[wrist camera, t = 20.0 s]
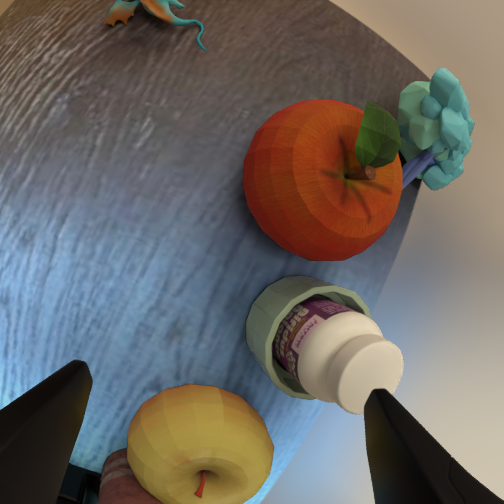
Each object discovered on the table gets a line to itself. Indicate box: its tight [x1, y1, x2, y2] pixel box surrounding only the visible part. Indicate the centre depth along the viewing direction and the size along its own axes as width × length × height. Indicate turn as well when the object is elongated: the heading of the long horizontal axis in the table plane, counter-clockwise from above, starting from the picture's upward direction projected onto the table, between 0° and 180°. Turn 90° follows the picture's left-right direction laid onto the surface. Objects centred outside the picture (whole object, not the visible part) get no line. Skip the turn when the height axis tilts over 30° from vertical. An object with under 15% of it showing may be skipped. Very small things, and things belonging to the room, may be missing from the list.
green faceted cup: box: [246, 275, 372, 400], centre depth 21 cm, size 7×7×5 cm
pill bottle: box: [272, 294, 403, 414], centre depth 18 cm, size 5×5×10 cm
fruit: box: [243, 100, 403, 261], centre depth 17 cm, size 10×10×10 cm
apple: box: [127, 384, 274, 504], centre depth 18 cm, size 10×10×8 cm
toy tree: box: [396, 68, 475, 190], centre depth 22 cm, size 11×9×15 cm
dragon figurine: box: [103, 0, 207, 52], centre depth 18 cm, size 7×7×8 cm
